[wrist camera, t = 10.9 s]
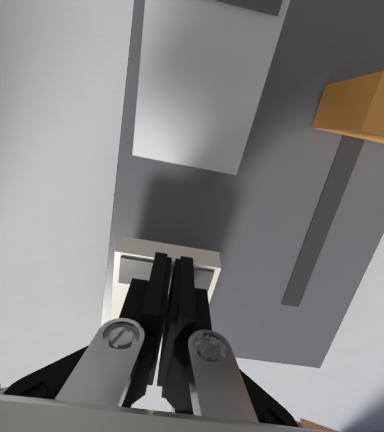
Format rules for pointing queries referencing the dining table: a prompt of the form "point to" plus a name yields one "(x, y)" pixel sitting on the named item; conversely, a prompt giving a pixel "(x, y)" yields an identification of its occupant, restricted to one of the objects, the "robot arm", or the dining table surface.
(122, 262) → the cream rocker
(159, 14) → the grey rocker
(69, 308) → the dining table surface
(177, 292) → the robot arm
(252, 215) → the control panel
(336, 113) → the orange rectangular prism
